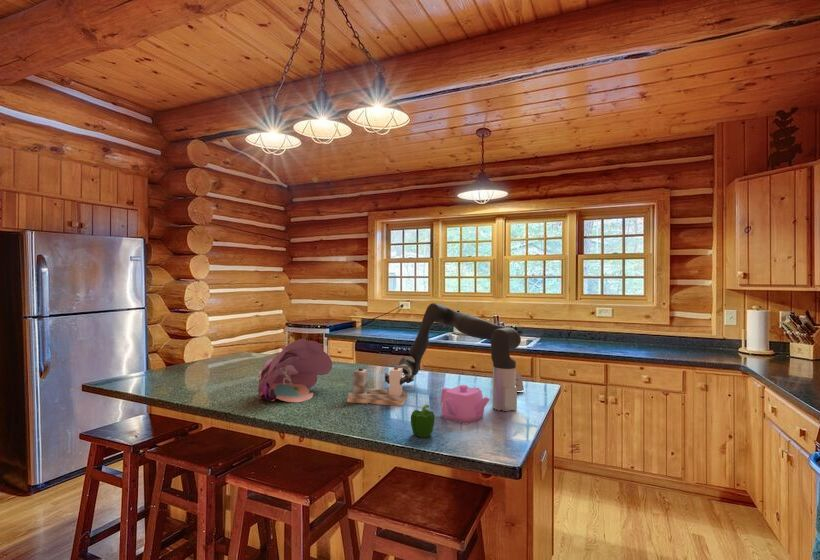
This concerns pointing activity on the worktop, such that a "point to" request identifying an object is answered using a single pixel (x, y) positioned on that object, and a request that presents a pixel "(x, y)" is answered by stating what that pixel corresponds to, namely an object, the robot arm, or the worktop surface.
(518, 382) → the electrical switch
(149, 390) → the worktop surface
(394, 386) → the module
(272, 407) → the worktop surface
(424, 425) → the bell pepper
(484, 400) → the teakettle
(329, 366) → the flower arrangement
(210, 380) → the worktop surface
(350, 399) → the rail plate
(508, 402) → the robot arm
